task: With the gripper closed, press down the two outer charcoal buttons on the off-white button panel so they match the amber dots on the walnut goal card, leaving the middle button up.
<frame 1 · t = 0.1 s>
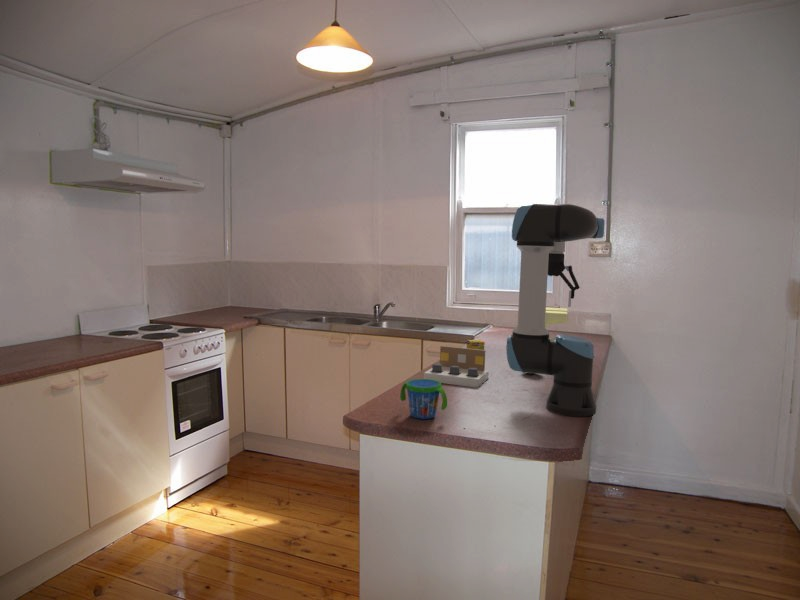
hand: (551, 305, 223), 28 cm above the table, tool pointing down, fingers open, 13 cm apart
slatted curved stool: (550, 343, 299), on the table
avocado: (530, 374, 225), on the table
button middle: (454, 371, 209), point 4 cm above the table, slide at 0.0 cm
button right: (472, 373, 206), point 4 cm above the table, slide at 0.0 cm
supplement box: (474, 366, 237), on the table
button left: (437, 369, 211), point 4 cm above the table, slide at 0.0 cm
snack cup: (422, 416, 165), on the table
syrup box: (564, 370, 234), on the table
button panel: (456, 379, 212), on the table
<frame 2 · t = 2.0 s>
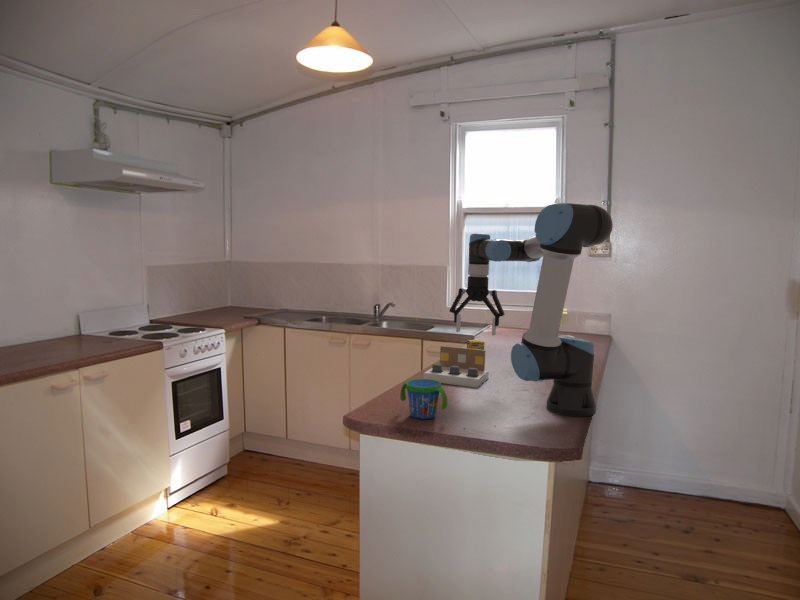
hand: (475, 333, 205), 19 cm above the table, tool pointing down, fingers open, 13 cm apart
nothing on the table moved.
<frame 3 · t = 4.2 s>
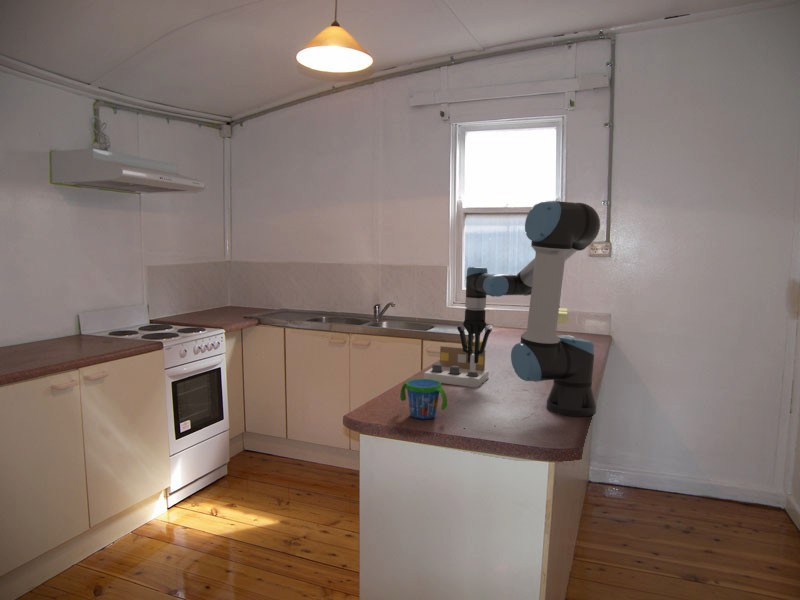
hand: (472, 371, 206), 4 cm above the table, tool pointing down, fingers closed
button right: (472, 376, 206), point 2 cm above the table, slide at 1.3 cm, touching gripper
everything else where it was.
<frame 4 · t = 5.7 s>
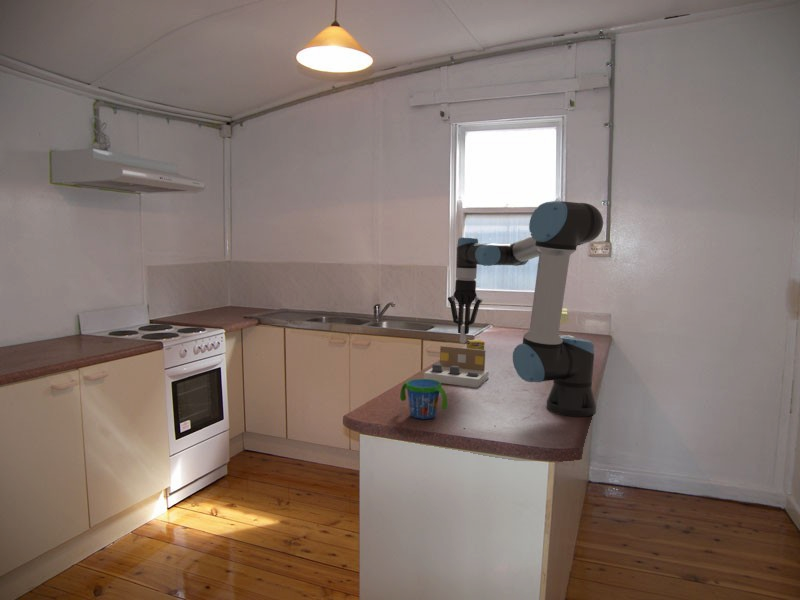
hand: (462, 342, 207), 15 cm above the table, tool pointing down, fingers closed
button right: (472, 377, 206), point 2 cm above the table, slide at 1.5 cm
everything else where it was.
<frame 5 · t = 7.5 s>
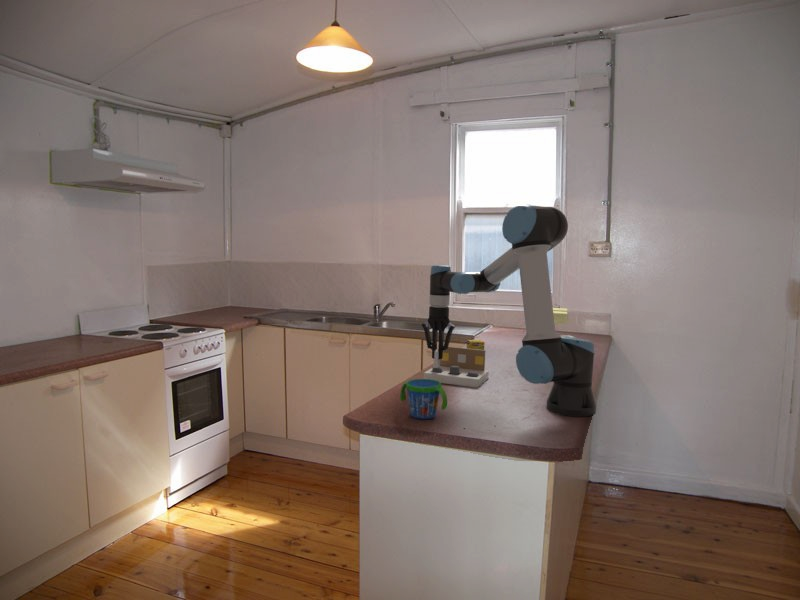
hand: (436, 367, 211), 5 cm above the table, tool pointing down, fingers closed
button left: (436, 372, 211), point 3 cm above the table, slide at 1.2 cm, touching gripper
everything else where it was.
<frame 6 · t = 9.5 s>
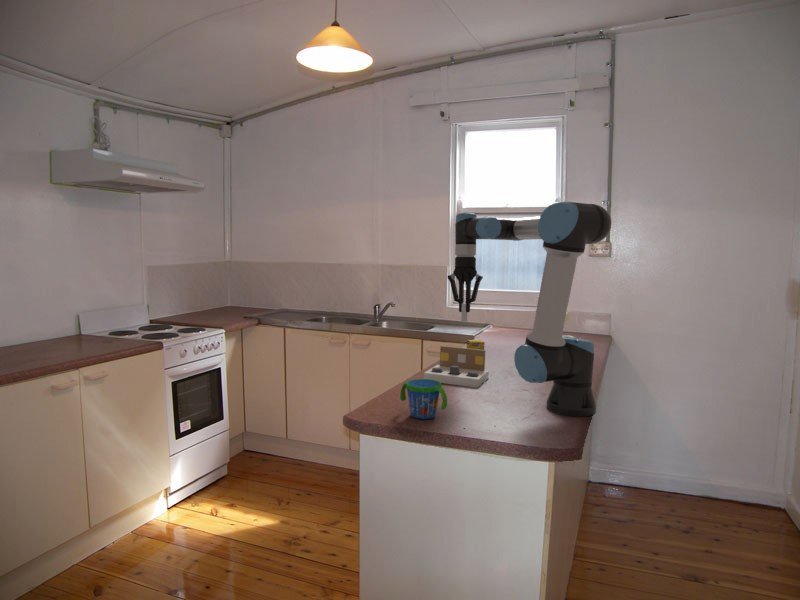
hand: (464, 321, 202), 24 cm above the table, tool pointing down, fingers closed
button left: (436, 373, 211), point 2 cm above the table, slide at 1.5 cm
everything else where it was.
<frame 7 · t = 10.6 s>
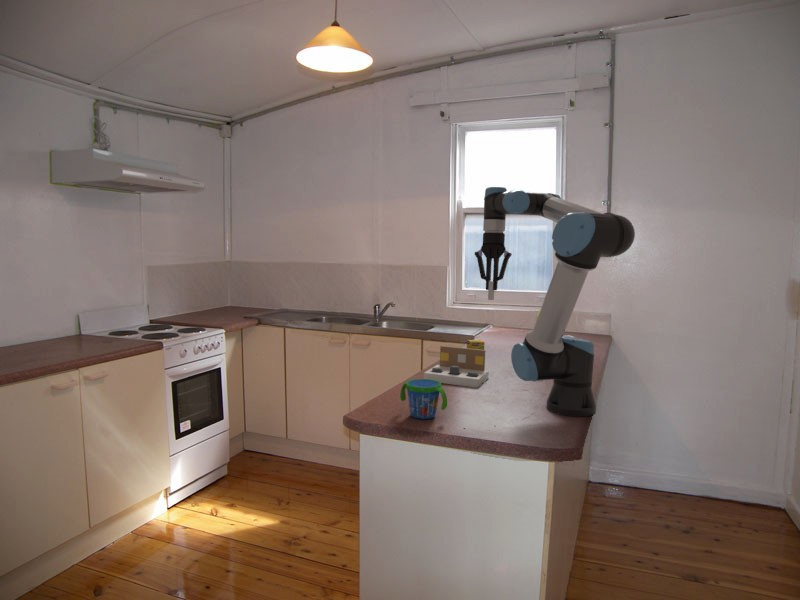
hand: (490, 299, 195), 32 cm above the table, tool pointing down, fingers closed
nothing on the table moved.
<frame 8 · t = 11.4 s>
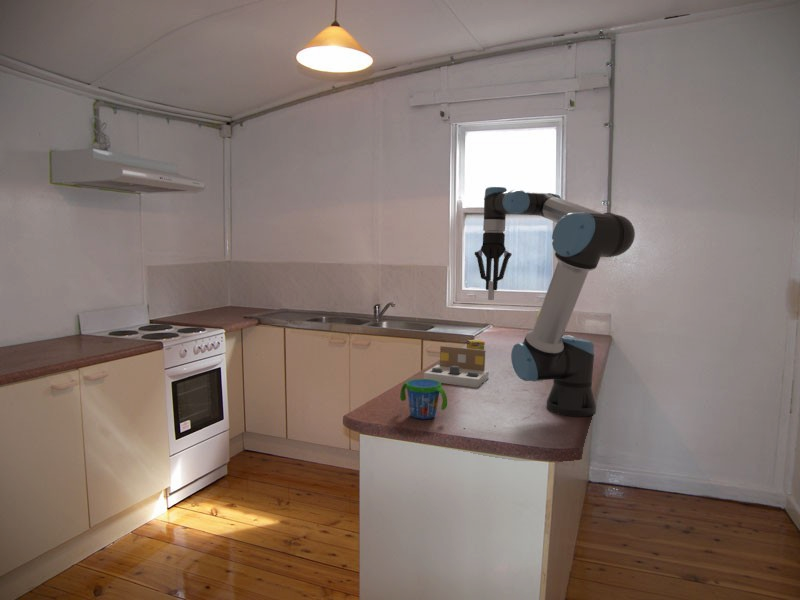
hand: (490, 299, 195), 32 cm above the table, tool pointing down, fingers closed
nothing on the table moved.
at the end: button right slide at 1.5 cm; button left slide at 1.5 cm; button middle slide at 0.0 cm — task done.
